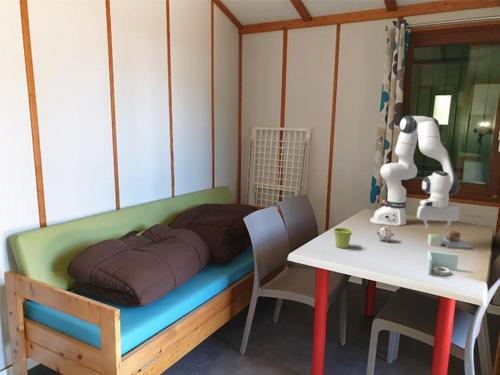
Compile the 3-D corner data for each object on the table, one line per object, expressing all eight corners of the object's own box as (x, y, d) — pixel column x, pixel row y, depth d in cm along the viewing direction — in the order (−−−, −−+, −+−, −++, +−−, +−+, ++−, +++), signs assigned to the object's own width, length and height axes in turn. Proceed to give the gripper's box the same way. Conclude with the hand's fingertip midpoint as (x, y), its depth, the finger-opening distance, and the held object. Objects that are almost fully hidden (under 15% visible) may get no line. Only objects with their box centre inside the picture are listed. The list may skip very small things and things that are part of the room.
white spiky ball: (386, 247, 209) (397, 232, 208) (387, 245, 201) (398, 230, 201) (372, 236, 212) (383, 222, 212) (372, 235, 204) (384, 220, 204)
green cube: (430, 245, 200) (431, 236, 200) (427, 243, 205) (428, 234, 204) (440, 246, 200) (441, 237, 199) (437, 243, 205) (438, 234, 204)
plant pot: (339, 242, 202) (340, 226, 201) (355, 246, 195) (356, 230, 194) (329, 246, 195) (329, 229, 194) (345, 250, 189) (346, 233, 187)
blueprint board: (447, 248, 197) (447, 245, 197) (434, 237, 216) (434, 234, 216) (472, 249, 195) (472, 247, 195) (457, 238, 215) (457, 236, 215)
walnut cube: (449, 241, 204) (450, 232, 203) (446, 239, 208) (447, 230, 208) (459, 242, 203) (460, 233, 202) (455, 239, 208) (456, 230, 207)
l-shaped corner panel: (428, 276, 159) (429, 259, 158) (426, 266, 170) (427, 250, 169) (460, 281, 155) (462, 263, 154) (456, 271, 166) (458, 254, 165)
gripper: (457, 202, 200) (455, 228, 202) (416, 200, 203) (414, 226, 205) (462, 204, 194) (460, 231, 196) (420, 203, 197) (418, 229, 199)
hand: (436, 228), depth 201 cm, fingers open, 8 cm apart
